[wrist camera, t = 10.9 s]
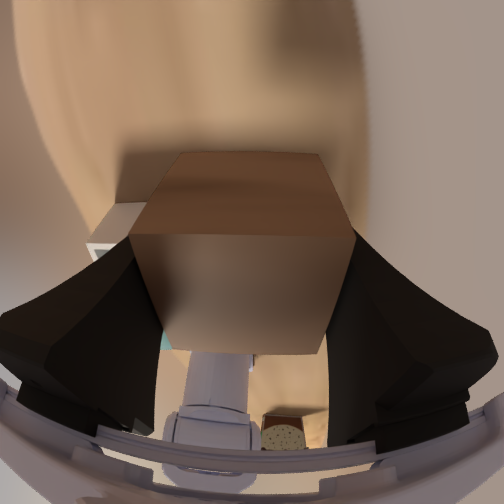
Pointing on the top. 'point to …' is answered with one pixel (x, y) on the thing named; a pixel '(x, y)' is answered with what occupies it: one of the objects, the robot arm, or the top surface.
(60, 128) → the top surface
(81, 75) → the top surface
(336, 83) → the top surface
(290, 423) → the food container
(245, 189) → the walnut cube
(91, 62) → the top surface
